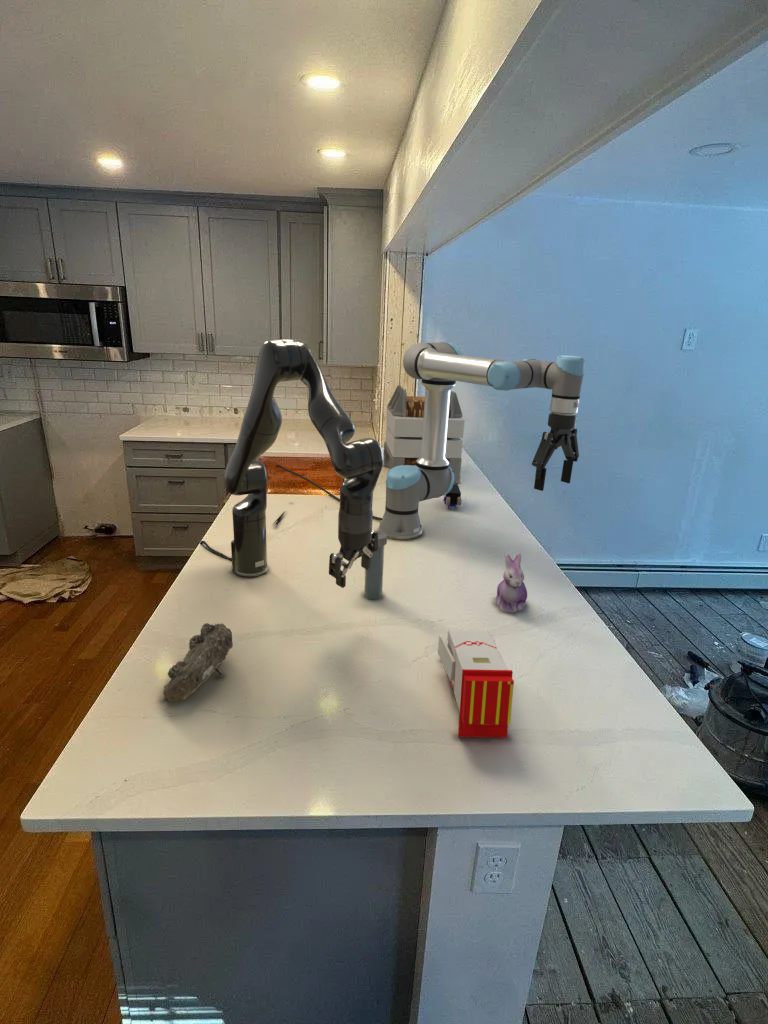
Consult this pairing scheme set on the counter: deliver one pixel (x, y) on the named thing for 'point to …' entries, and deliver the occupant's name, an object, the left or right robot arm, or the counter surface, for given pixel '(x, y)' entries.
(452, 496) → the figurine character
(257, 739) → the counter surface
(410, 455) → the grey slatted crate
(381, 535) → the lid
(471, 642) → the toy
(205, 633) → the fossil
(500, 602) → the figurine
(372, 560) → the jar
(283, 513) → the feather
